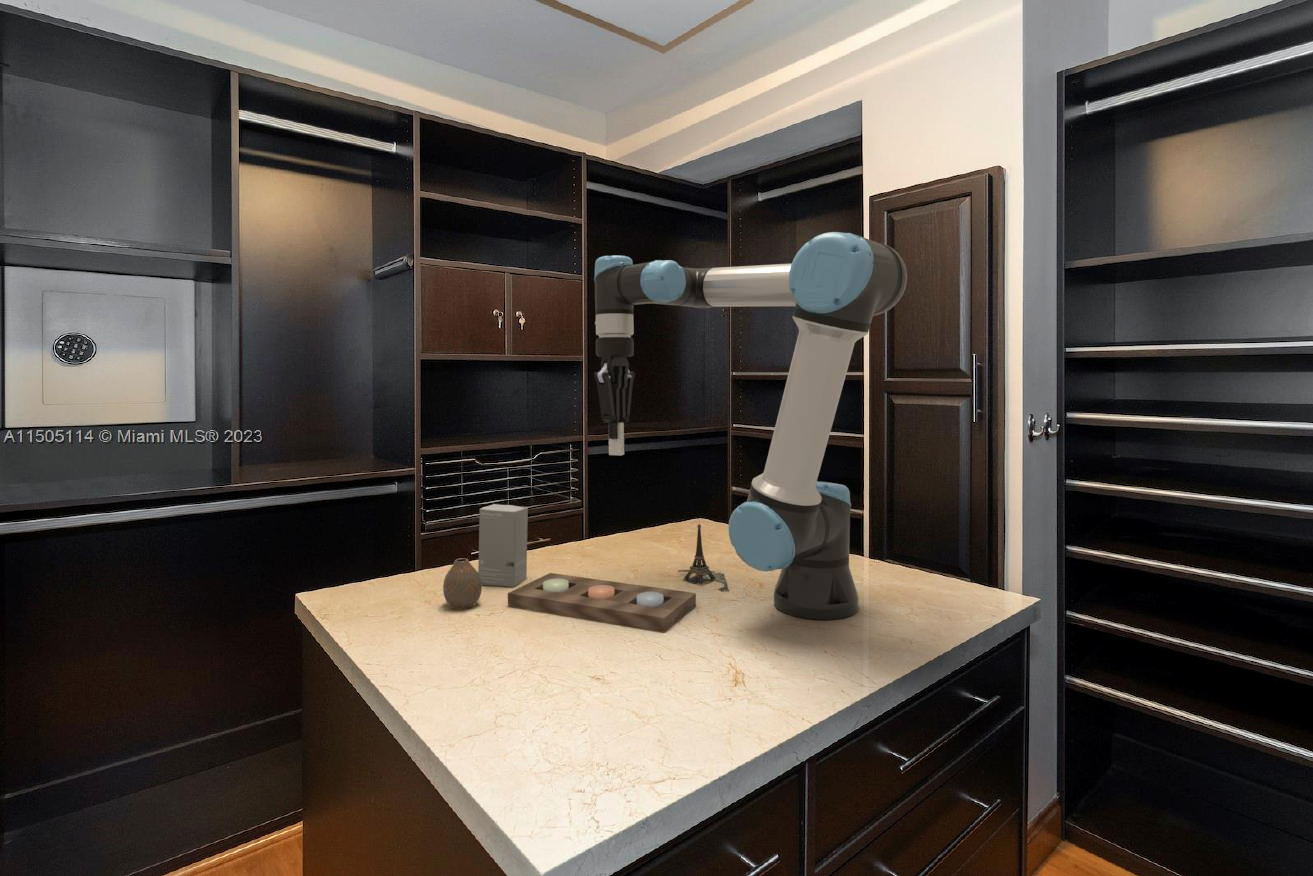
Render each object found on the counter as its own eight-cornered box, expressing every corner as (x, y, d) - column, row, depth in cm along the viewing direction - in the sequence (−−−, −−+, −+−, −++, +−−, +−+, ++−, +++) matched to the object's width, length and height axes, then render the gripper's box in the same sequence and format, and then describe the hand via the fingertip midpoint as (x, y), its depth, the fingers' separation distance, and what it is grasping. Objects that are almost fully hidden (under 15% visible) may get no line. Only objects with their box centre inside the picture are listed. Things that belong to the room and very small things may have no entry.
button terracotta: (619, 602, 130) (618, 586, 129) (606, 610, 125) (606, 594, 125) (596, 599, 132) (596, 583, 131) (583, 607, 127) (583, 591, 127)
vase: (471, 613, 126) (470, 565, 125) (436, 610, 127) (434, 564, 126) (488, 600, 132) (486, 555, 132) (455, 598, 134) (453, 554, 133)
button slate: (668, 610, 125) (667, 593, 125) (656, 618, 121) (656, 602, 121) (644, 606, 127) (643, 590, 127) (632, 614, 123) (631, 598, 123)
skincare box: (477, 585, 142) (474, 509, 140) (493, 575, 149) (491, 502, 147) (516, 588, 140) (513, 510, 138) (530, 578, 147) (528, 504, 145)
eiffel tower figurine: (730, 594, 136) (730, 527, 135) (678, 595, 136) (677, 528, 135) (722, 572, 151) (722, 511, 150) (676, 572, 151) (675, 512, 150)
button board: (696, 606, 128) (696, 593, 128) (664, 632, 115) (664, 617, 115) (550, 584, 142) (550, 572, 141) (508, 606, 129) (507, 593, 129)
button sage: (573, 595, 134) (573, 580, 134) (559, 603, 130) (559, 587, 129) (552, 592, 136) (552, 577, 136) (538, 599, 132) (538, 584, 131)
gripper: (613, 338, 145) (615, 450, 148) (581, 336, 133) (583, 457, 136) (646, 337, 142) (647, 452, 144) (615, 335, 130) (617, 459, 133)
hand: (616, 454), depth 140 cm, fingers closed
